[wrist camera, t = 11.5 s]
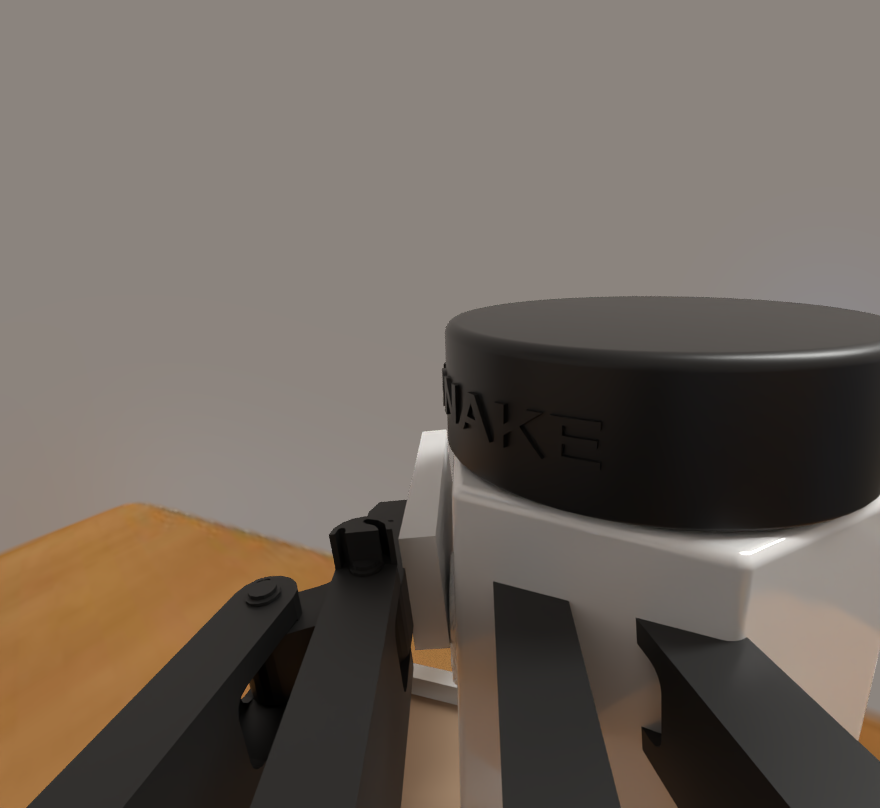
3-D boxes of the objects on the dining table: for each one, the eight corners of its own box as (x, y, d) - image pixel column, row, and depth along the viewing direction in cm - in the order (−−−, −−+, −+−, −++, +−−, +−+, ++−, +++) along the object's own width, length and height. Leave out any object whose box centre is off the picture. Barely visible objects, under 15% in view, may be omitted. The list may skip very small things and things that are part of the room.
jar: (457, 655, 19) (447, 298, 15) (701, 656, 18) (747, 290, 15) (450, 1009, 10) (425, 369, 7) (914, 1027, 10) (1140, 354, 6)
